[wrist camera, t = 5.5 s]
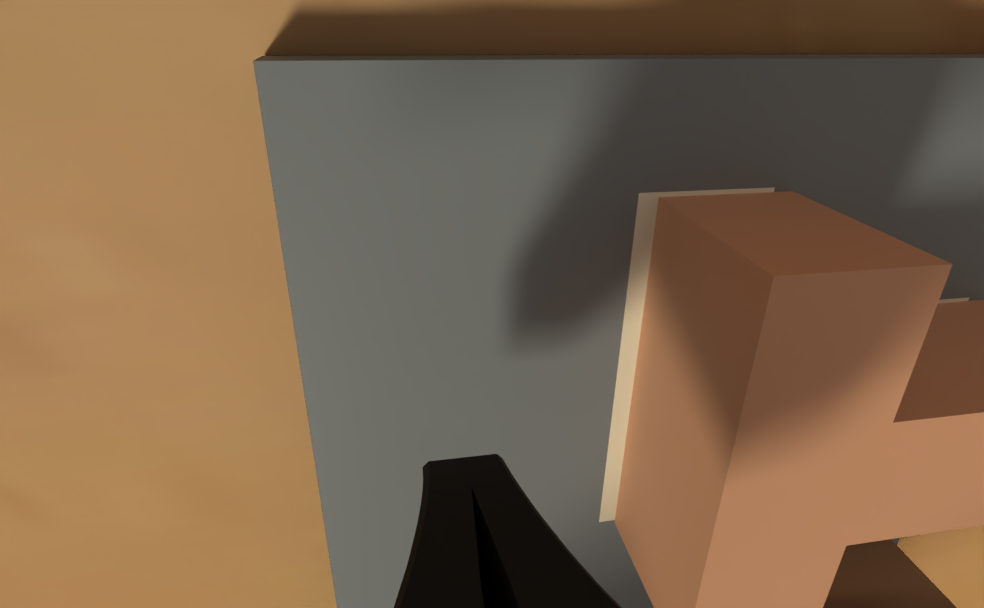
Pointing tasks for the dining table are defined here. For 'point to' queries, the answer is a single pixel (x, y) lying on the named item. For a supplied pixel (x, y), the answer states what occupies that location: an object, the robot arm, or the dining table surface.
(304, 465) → the dining table surface
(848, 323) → the t block
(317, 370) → the board
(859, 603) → the walnut cube
